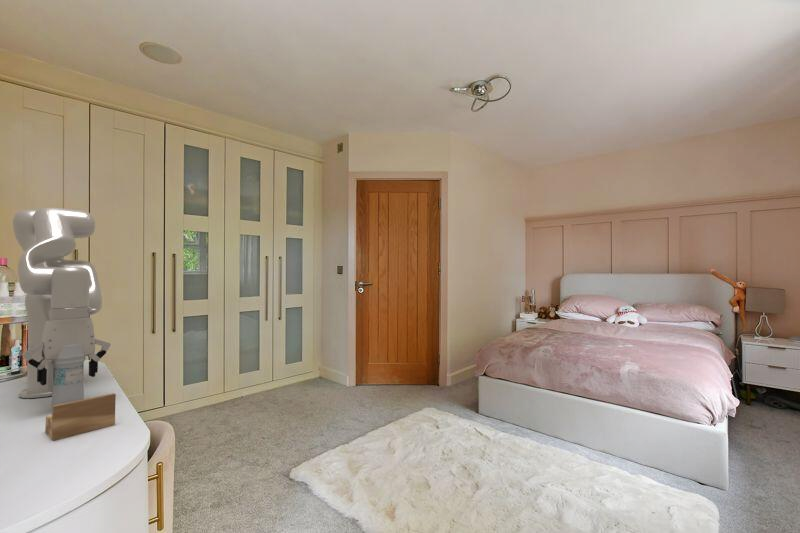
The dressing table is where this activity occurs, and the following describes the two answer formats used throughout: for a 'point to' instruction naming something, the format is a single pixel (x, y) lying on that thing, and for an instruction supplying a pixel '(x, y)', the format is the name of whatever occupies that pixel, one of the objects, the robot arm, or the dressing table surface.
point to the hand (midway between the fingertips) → (68, 380)
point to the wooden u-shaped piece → (80, 416)
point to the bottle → (68, 375)
